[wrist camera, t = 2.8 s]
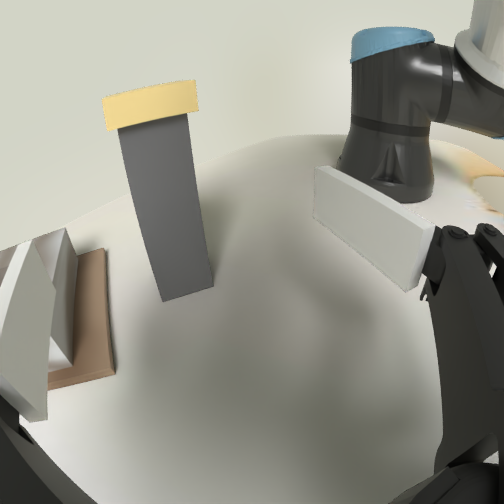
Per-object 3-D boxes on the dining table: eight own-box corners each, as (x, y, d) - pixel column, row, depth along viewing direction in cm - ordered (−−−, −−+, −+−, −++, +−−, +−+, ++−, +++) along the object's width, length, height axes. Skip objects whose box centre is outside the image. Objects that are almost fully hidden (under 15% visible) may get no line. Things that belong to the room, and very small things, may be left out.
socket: (105, 253, 30) (92, 214, 27) (115, 374, 18) (85, 327, 15) (-28, 298, 24) (-46, 267, 21) (-59, 407, 12) (-92, 373, 9)
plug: (203, 253, 29) (178, 80, 20) (222, 288, 25) (195, 80, 16) (147, 269, 27) (106, 96, 18) (157, 308, 23) (101, 99, 14)
